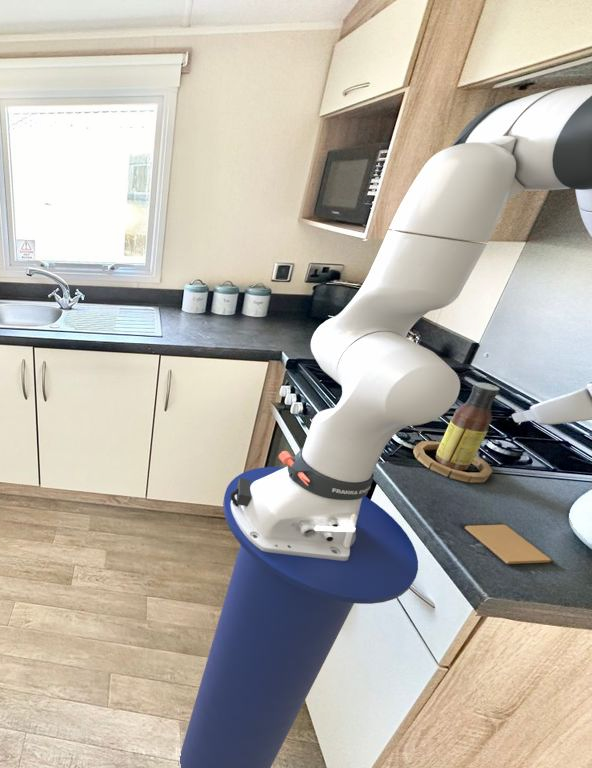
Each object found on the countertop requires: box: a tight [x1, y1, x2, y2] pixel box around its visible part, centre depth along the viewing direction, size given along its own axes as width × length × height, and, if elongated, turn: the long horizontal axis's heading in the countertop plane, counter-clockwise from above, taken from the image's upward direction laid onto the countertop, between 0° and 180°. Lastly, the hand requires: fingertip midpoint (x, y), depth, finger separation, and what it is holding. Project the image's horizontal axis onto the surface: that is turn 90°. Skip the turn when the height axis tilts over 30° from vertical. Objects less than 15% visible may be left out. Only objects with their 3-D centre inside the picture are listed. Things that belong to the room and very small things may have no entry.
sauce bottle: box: [435, 381, 501, 472], centre depth 90 cm, size 7×6×20 cm
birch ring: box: [412, 440, 493, 484], centre depth 94 cm, size 13×13×2 cm
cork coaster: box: [464, 524, 552, 565], centre depth 73 cm, size 8×8×1 cm
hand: (527, 413), depth 81 cm, fingers open, 8 cm apart
